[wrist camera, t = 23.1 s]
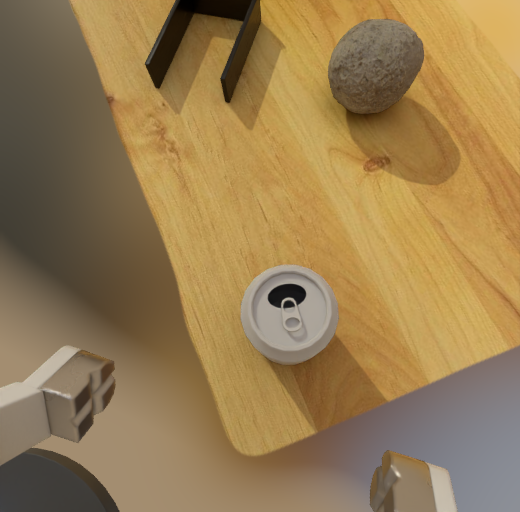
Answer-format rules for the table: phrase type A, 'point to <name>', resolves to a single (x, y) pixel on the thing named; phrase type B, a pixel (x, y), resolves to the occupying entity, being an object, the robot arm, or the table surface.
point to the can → (289, 314)
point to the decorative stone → (374, 65)
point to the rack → (211, 3)
